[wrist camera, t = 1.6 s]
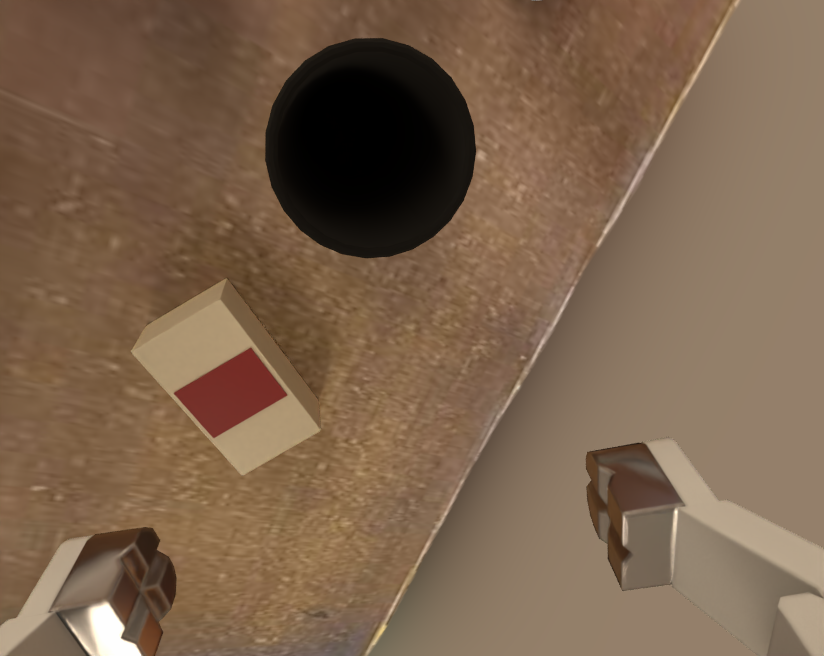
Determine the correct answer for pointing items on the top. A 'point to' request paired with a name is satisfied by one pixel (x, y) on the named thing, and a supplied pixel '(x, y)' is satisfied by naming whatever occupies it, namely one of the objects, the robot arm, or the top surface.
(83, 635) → the robot arm
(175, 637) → the top surface
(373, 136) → the cup
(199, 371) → the packet
